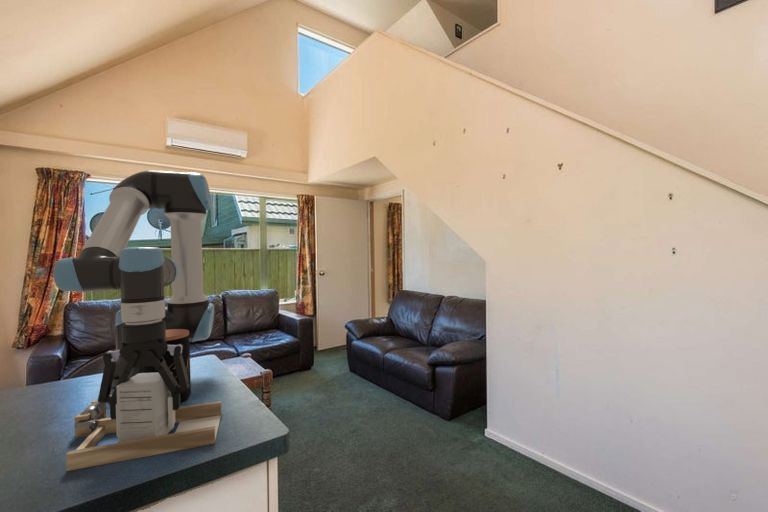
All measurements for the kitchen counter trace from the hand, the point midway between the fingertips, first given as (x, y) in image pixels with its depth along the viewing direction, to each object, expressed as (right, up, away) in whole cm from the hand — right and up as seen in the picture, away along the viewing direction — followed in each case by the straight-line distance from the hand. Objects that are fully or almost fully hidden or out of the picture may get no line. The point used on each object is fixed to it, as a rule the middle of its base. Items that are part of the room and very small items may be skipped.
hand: (147, 428), depth 73 cm
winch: (-15, -2, +5) cm, 16 cm away
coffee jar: (-7, -2, +18) cm, 20 cm away
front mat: (+9, -2, +3) cm, 9 cm away
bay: (+2, -2, 0) cm, 3 cm away
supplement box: (0, -2, 0) cm, 2 cm away
